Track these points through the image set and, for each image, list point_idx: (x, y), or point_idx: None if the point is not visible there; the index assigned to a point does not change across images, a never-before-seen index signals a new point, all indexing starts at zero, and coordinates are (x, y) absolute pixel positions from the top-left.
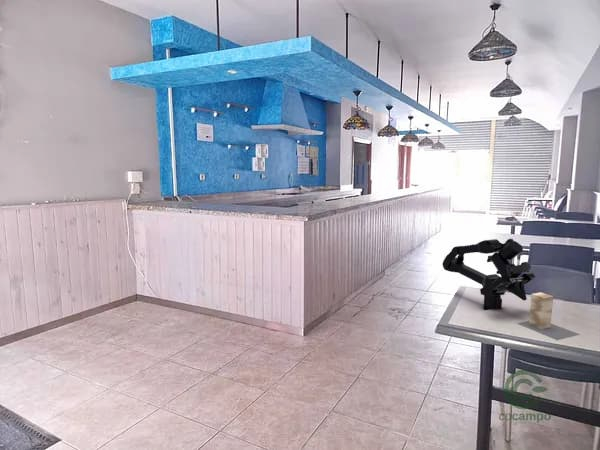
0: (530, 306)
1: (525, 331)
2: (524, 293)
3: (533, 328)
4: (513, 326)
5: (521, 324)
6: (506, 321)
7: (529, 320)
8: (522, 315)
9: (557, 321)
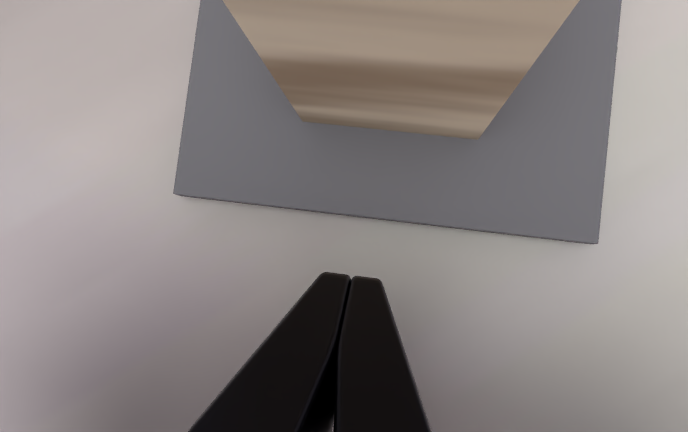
0: (542, 47)
1: (668, 70)
2: (282, 391)
3: (562, 27)
4: (654, 243)
5: (572, 186)
6: (575, 397)
7: (489, 122)
8: (178, 409)
9: (12, 65)
